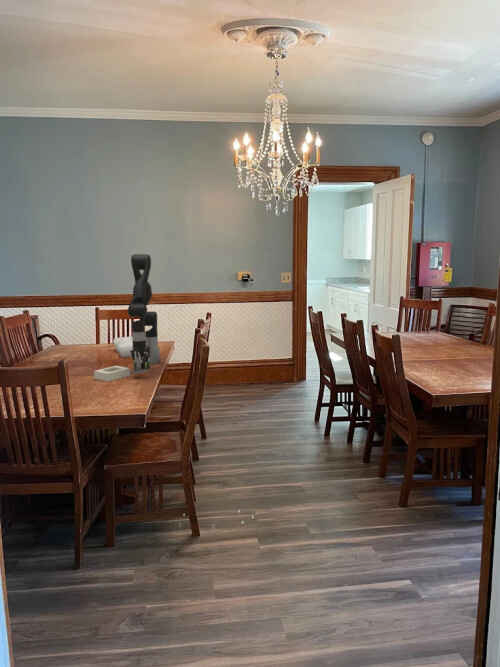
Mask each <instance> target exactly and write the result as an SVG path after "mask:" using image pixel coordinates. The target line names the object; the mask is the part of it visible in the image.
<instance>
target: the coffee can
mask: <svg viewBox="0 0 500 667" xmlns="http://www.w3.org/2000/svg"><path fill="white" fill-rule="evenodd" d="M133 350H134V348H133ZM145 351H146V352H149V357H148V362H145V372H149V371H151V370H152V369H151V364H150V347H149V346H146V347H145ZM134 358H135V356H134ZM145 360H146V359H145ZM132 362H133V370H134V369H137V368H136V362H135V361H134V360H133V359H132Z"/></svg>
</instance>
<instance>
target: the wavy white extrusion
mask: <svg viewBox="0 0 500 667" xmlns="http://www.w3.org/2000/svg"><path fill="white" fill-rule="evenodd" d="M112 342H113V345H114V348H115V350H116V352H117V353H118V354H120V357H122V358H132V355H131V350H133V343H132V336H123V337H114V338H113V340H112Z"/></svg>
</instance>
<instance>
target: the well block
mask: <svg viewBox="0 0 500 667" xmlns="http://www.w3.org/2000/svg"><path fill="white" fill-rule="evenodd" d="M93 376H94V379H95V380H99V381H102V380H103V382H107V381H108V382H111V380H112V381H115V379H116V380H120V379H124V378H127V376H128V377H131V367H130V368H129V367H125V366H120V365H115V366H109V367H105V368H100V369H97V370H93ZM123 377H124V378H123ZM119 378H120V379H119Z"/></svg>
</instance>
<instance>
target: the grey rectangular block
mask: <svg viewBox="0 0 500 667" xmlns="http://www.w3.org/2000/svg"><path fill="white" fill-rule="evenodd" d="M143 357H144V356H143ZM142 360H143V359H142ZM136 367H137V369H134V368H133V369H130V374H135V375H137V374H138V375H139V374H140V373H146V371H145V369H141V359H139V357H138V356H137V358H136Z"/></svg>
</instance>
